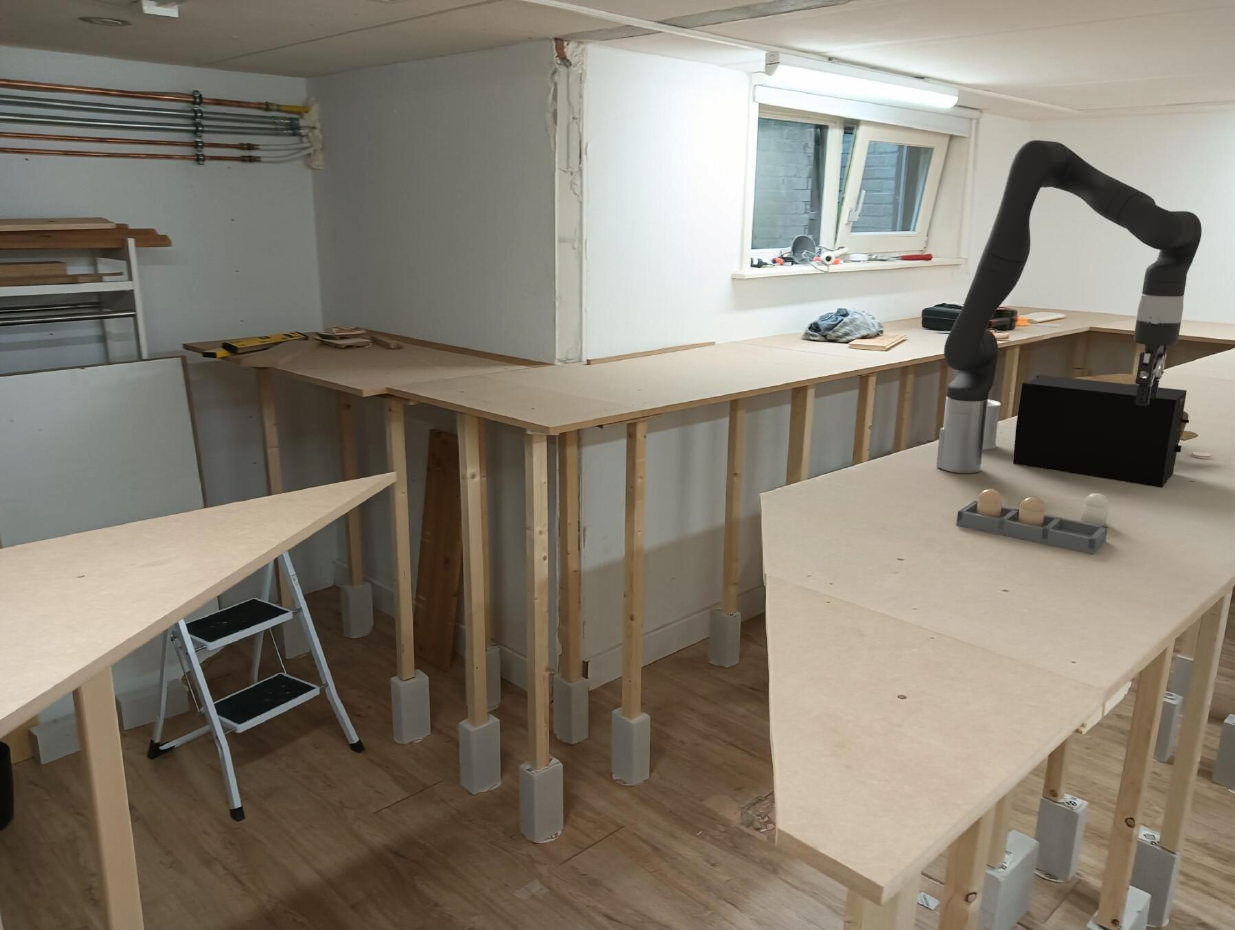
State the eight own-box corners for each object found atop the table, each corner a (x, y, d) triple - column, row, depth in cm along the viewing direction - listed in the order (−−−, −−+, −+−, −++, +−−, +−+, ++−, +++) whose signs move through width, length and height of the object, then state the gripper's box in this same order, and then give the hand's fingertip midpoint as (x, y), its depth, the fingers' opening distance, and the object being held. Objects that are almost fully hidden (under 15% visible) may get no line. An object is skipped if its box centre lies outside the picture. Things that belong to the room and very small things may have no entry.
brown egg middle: (1014, 528, 181) (1018, 497, 180) (1021, 522, 185) (1025, 492, 183) (1038, 533, 179) (1042, 502, 177) (1045, 527, 182) (1049, 496, 180)
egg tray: (956, 525, 186) (957, 511, 185) (972, 513, 193) (974, 500, 192) (1092, 554, 171) (1095, 539, 170) (1105, 540, 177) (1107, 526, 177)
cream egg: (1078, 523, 187) (1082, 494, 185) (1084, 518, 190) (1088, 488, 189) (1102, 528, 184) (1106, 498, 183) (1108, 522, 188) (1112, 493, 186)
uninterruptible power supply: (1030, 451, 241) (1040, 373, 235) (1181, 474, 221) (1195, 390, 215) (1011, 465, 228) (1021, 383, 223) (1169, 490, 208) (1183, 401, 203)
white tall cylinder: (1001, 450, 241) (1010, 373, 236) (965, 450, 242) (973, 372, 236) (986, 440, 252) (994, 365, 246) (951, 440, 252) (959, 365, 246)
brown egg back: (972, 519, 186) (975, 489, 185) (980, 514, 189) (983, 484, 188) (995, 524, 183) (998, 494, 182) (1002, 518, 187) (1006, 488, 185)
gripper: (1144, 313, 189) (1131, 393, 193) (1129, 320, 178) (1117, 405, 182) (1187, 316, 184) (1173, 398, 189) (1174, 324, 173) (1160, 410, 178)
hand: (1145, 401), depth 185 cm, fingers open, 8 cm apart
